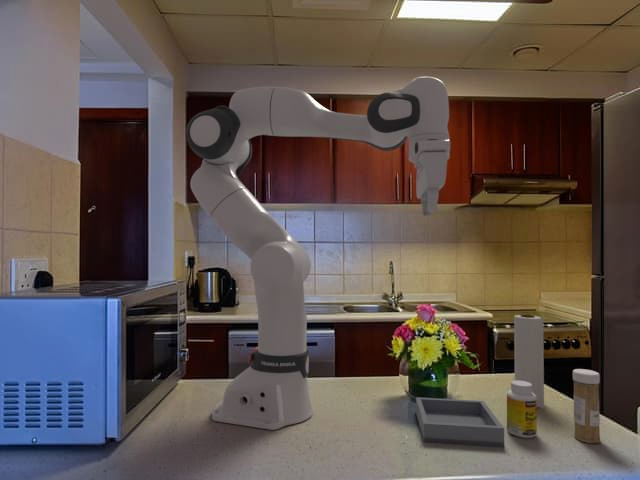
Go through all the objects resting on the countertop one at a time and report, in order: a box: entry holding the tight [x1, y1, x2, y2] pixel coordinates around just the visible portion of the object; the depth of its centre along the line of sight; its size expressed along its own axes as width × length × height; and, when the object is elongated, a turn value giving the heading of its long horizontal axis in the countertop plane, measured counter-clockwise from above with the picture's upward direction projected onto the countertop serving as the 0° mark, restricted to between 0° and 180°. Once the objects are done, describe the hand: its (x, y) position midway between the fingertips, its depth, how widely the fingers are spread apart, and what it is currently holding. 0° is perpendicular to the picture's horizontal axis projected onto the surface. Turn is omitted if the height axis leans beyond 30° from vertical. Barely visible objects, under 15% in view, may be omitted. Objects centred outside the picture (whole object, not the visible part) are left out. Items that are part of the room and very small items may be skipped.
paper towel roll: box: [513, 314, 545, 409], centre depth 104 cm, size 7×6×21 cm
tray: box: [415, 396, 505, 448], centre depth 88 cm, size 15×15×4 cm
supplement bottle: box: [506, 380, 538, 439], centre depth 86 cm, size 6×6×10 cm
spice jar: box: [572, 368, 601, 444], centre depth 83 cm, size 5×5×13 cm
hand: (429, 214), depth 92 cm, fingers open, 8 cm apart
